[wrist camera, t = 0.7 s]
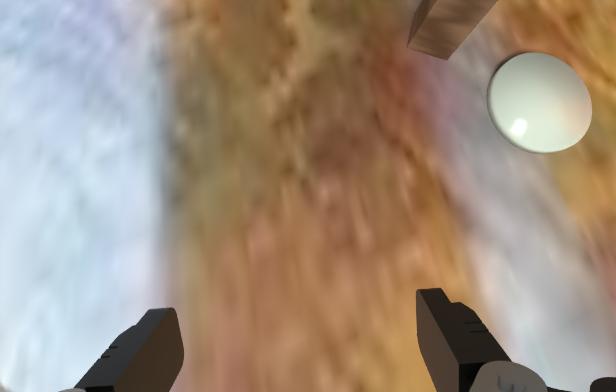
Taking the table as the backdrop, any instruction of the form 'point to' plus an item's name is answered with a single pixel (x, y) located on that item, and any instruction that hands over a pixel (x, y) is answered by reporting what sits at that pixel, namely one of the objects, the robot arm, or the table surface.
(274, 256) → the table surface
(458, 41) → the walnut block
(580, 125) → the white plate
